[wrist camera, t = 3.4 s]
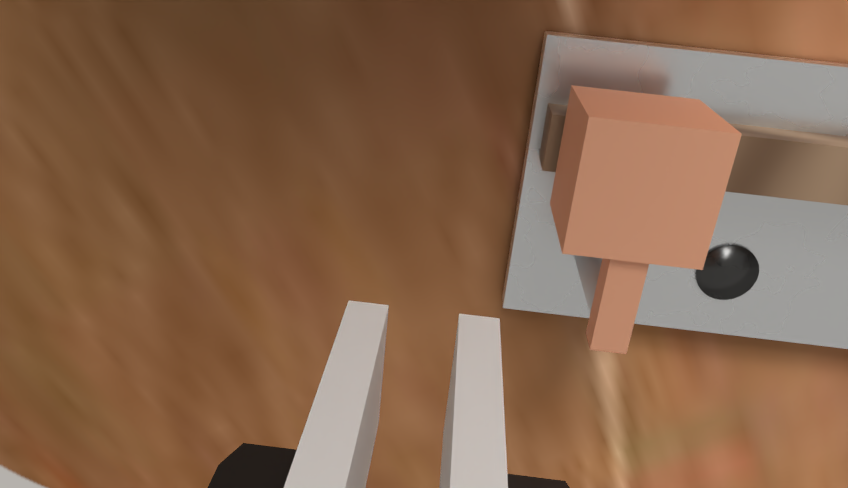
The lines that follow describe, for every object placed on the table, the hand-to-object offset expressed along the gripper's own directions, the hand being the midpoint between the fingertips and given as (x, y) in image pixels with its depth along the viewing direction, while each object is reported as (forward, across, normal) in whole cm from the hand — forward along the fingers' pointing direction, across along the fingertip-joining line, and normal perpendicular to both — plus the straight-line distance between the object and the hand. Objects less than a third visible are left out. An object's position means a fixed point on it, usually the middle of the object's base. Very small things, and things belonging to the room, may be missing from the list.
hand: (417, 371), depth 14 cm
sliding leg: (+19, +7, -2) cm, 20 cm away
